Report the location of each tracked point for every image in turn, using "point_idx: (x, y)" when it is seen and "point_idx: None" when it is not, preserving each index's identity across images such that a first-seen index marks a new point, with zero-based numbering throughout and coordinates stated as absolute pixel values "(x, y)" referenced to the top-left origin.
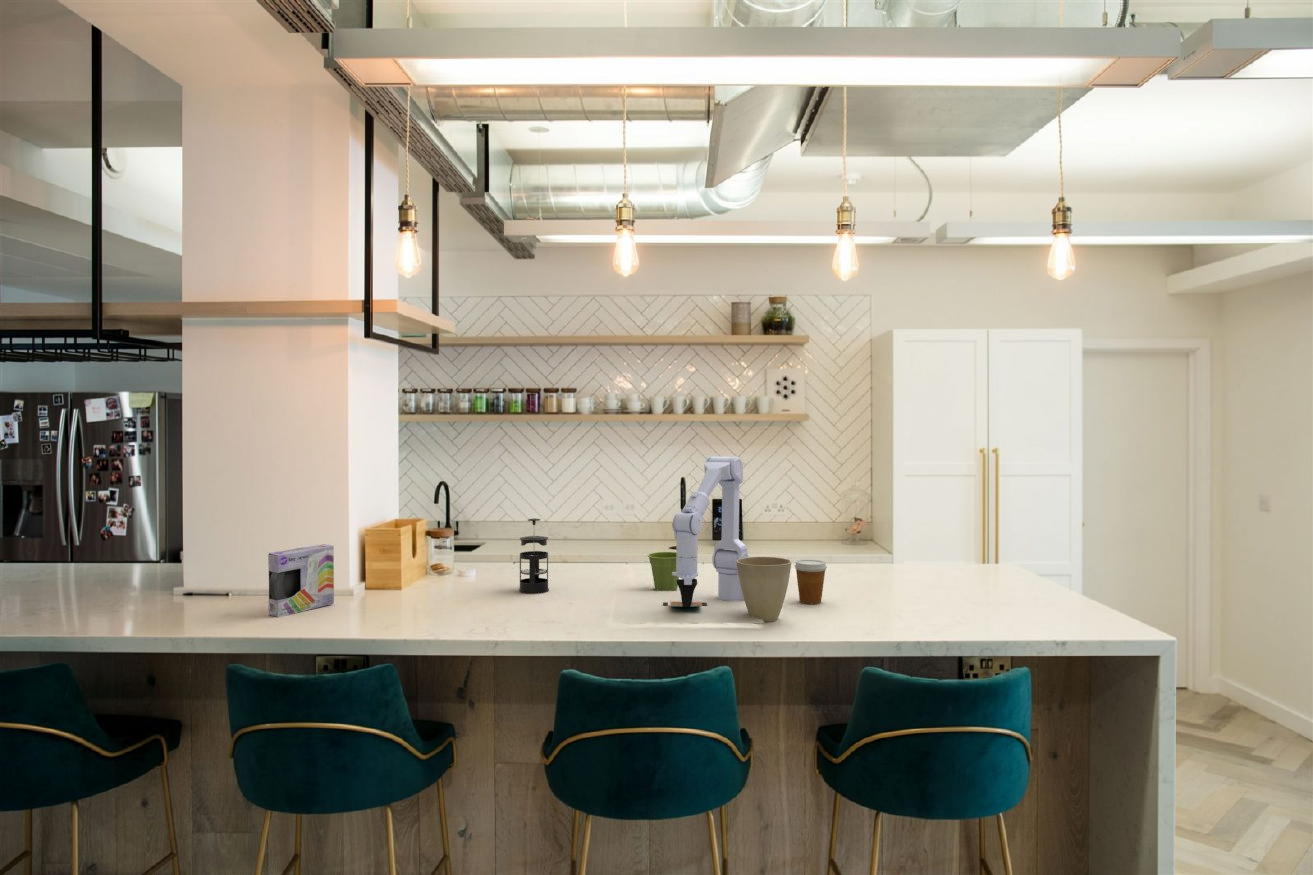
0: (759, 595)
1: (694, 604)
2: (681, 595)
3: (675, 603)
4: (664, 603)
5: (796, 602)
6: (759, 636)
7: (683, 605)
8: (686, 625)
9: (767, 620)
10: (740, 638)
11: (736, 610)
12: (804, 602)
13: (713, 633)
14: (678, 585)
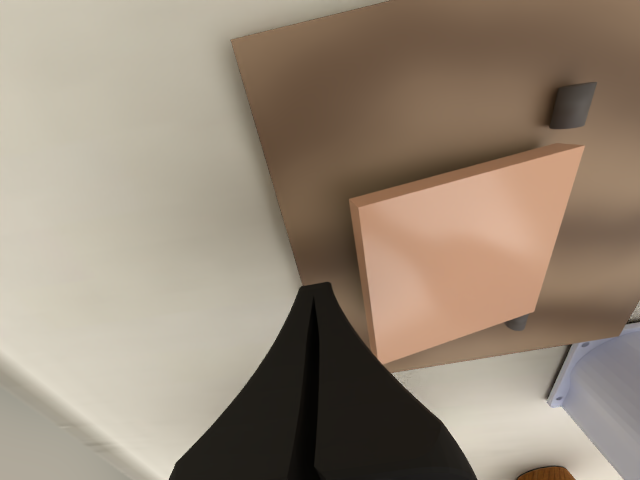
0: None
1: (370, 328)
2: (273, 345)
3: (359, 236)
4: (570, 99)
5: (544, 462)
6: (164, 446)
7: (298, 293)
8: (191, 277)
9: None
10: (115, 422)
11: (469, 382)
12: (527, 476)
13: (124, 368)
14: (179, 462)
